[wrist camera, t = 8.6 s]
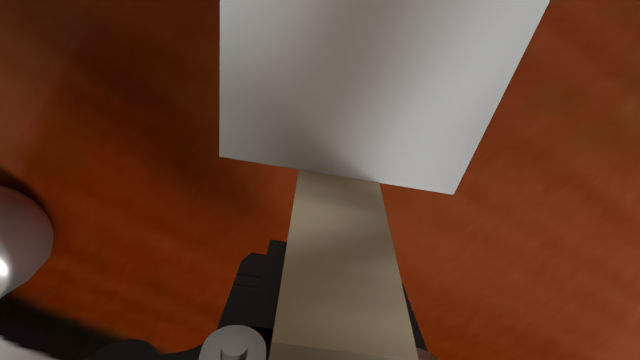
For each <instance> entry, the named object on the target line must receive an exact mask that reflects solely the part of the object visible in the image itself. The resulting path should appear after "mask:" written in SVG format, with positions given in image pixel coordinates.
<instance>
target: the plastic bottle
mask: <svg viewBox="0 0 640 360" xmlns="http://www.w3.org/2000/svg"><path fill="white" fill-rule="evenodd" d="M52 245H53V228H52V224H51V222H50V220H49V218H48V216H47V214H46V213H45V212H44V211H43V209H42V208H41V207H40V206H39V205H38V204H37V203H36V202H35V201H33V200H32V199H30V198H29V197H28V196H26V195H24V194H22V193H20V192H19V191H17V190H14V189H11V188H8V187H4V186H0V297H2V296H3V295H5V294H7V293H8V292H10V291H12V290H13V289H15V288H16V287H18V286H20V285H21V284H23V283H24V282H26V281H27V280H29V279H30V278H31V277H32V276H33V275H34V274H35V273H36V271H37V270H38V269H39V268H40V267H41V266H42V264H43V263H44V262H45V261H46V260H47V259H48V257H49V255H50V253H51V250H52Z"/></svg>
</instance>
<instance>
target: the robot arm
mask: <svg viewBox="0 0 640 360" xmlns="http://www.w3.org/2000/svg"><path fill="white" fill-rule="evenodd" d="M286 247H287V242H284V241H277V240H270V243H269V247H268V252H267V255H264V254H257V253H250V254H249V255H248V256H247V257H246V258H245V259H244V260H243V261H242V262H241V264H240V266H239V269H238V272H237V276H236V278H235V280H234V283H233V286H232V289H231V292H230V295H229V297H228V300H227V303H226V306H225V309H224V311H223V314H222V317H221V320H220V323H219V325H218V328H217V330H216V331H215V332H213V333H212V334H211V335H210V336H209V337H208V338H207V339H206V340H205V342H204V343H203V344H201V345H199V346H197V347H195V348H193V349H190V350H187V351H183V352H177V353H171V354H165V355H158V352H157V351H156V349H155V348H154V347H153V346H152V345H151V344H149V343H148V342H145V341H142V340H137V339H129V340H122V341H117V342H114V343H111V344H109V345H107V346H105V347H103V348H101V349H99V350H98V351H96V352H95V353H93V354H92V355H90V356H89V357H87V358H86V359H84V360H269V354H270V348H271V341H272V335H273V329H274V323H275V317H276V310H277V304H278V297H279V291H280V285H281V278H282V272H283V266H284V259H285V253H286ZM402 287H403V292H404V296H405V300H406V305H407V309H408V314H409V318H410V323H411V327H412V332H413V336H414V341H415V345H416V350H417V354H418V359H419V360H439V359H437V358H436V357H435V356H434V355H432V354H431V353H429V352H428V351H427V349H426V346H425V343H424V340H423V338H422V335H421V332H420V329H419V327H418V324H417V321H416V319H415V316H414V313H413V311H412V310H411V305H410V302H409V300H408V297H407V294H406V291H405V288H404V286H403V284H402Z"/></svg>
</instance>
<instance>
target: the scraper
mask: <svg viewBox="0 0 640 360" xmlns="http://www.w3.org/2000/svg"><path fill="white" fill-rule="evenodd" d="M549 1H550V0H220V123H219V157H225V158H231V159H238V160H244V161H250V162H256V163H262V164H268V165H274V166H280V167H287V168H293V169H299V172H298V178H297V184H296V190H295V196H294V203H293V209H292V215H291V221H290V227H289V233H288V239H287V247H286V253H285V259H284V266H283V272H282V278H281V285H280V291H279V297H278V304H277V310H276V317H275V323H274V329H273V335H272V341H271V348H270V354H269V360H419V359H418V354H417V350H416V345H415V341H414V336H413V332H412V327H411V323H410V318H409V314H408V309H407V305H406V300H405V296H404V292H403V287H402V283H401V278H400V274H399V269H398V265H397V260H396V256H395V251H394V247H393V242H392V238H391V233H390V229H389V224H388V220H387V215H386V211H385V206H384V202H383V198H382V193H381V189H380V184H379V183H385V184H391V185H397V186H403V187H409V188H415V189H421V190H427V191H434V192H440V193H446V194H452V195H453V194H454V192H455V190H456V188H457V186H458V184H459V182H460V180H461V178H462V176H463V174H464V172H465V170H466V168H467V166H468V164H469V162H470V160H471V158H472V156H473V154H474V152H475V150H476V148H477V146H478V144H479V142H480V140H481V138H482V136H483V134H484V132H485V130H486V128H487V126H488V124H489V122H490V120H491V118H492V116H493V114H494V112H495V110H496V108H497V106H498V104H499V102H500V100H501V98H502V96H503V94H504V92H505V90H506V88H507V86H508V84H509V82H510V80H511V78H512V76H513V74H514V72H515V70H516V68H517V66H518V64H519V62H520V60H521V58H522V56H523V54H524V52H525V50H526V48H527V46H528V44H529V42H530V39H531V37H532V35H533V33H534V31H535V29H536V27H537V25H538V23H539V21H540V19H541V17H542V15H543V13H544V11H545V9H546V7H547V5H548V3H549Z"/></svg>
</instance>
